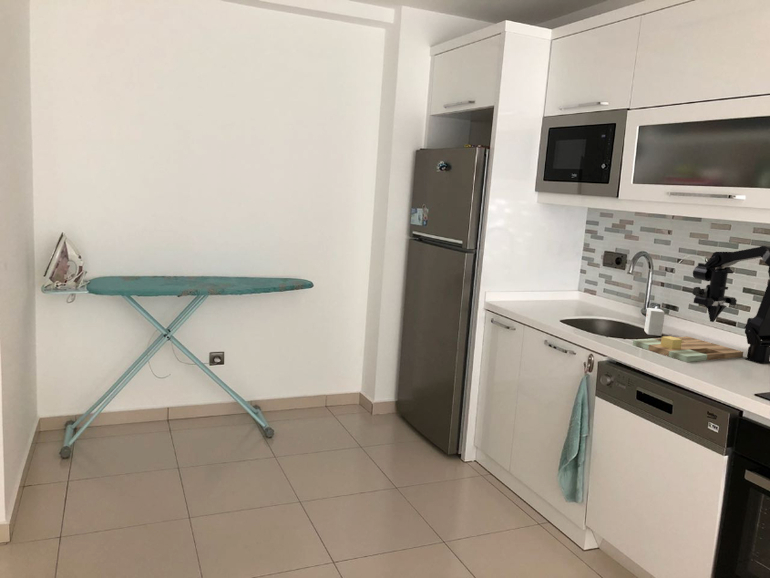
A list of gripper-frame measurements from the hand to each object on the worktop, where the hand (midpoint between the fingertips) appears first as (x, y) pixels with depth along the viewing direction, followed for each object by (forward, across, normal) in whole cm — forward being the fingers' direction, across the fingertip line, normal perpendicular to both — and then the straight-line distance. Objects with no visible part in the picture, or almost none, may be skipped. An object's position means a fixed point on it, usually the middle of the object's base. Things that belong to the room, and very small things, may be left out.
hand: (711, 321), depth 251 cm
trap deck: (+10, +18, +4) cm, 21 cm away
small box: (+10, +6, -22) cm, 25 cm away
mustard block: (+8, +28, +4) cm, 29 cm away
